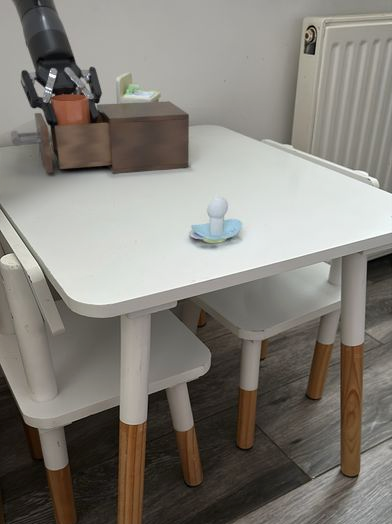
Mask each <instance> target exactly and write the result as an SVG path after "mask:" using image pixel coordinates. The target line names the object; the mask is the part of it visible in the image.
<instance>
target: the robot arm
mask: <svg viewBox="0 0 392 524" xmlns="http://www.w3.org/2000/svg"><path fill="white" fill-rule="evenodd" d="M11 2H12V3H13V5H14V7H15V9H16V13H17V15H18V18H19V22H20V24H21V27H22V33H23V37H24V42H25V43H24V44H25V46H26V48H27V49H28V53H29V56H30V59H31V62H32V65H33V68H34V72H29V71H28V70H26V69H23V70H22V71H21V74H20V84H21V87H22V89H23V91H24V95H25V97H26V100H27V101H28V103H29V106H30V108H31V109H34V110H35V109H37V108H38V109H40V110H42V113H43V115H44V118H45V122H46V125H47V126H50V125H51V126H52V128H55V125H57V118H56V115H55V112H54V109H53V106H52V104H51V97H53V95H54V96H56V95H63V94H79V95H85V96H88V99H89V110H90V122H91V124H92V123H96V121H97V119H98V111H97V105H99V103H100V102H101V98H102V95H103V92H102V88H101V83H100V81H99V76H98V73H97V72H98V71H97V69H96V68H95V66H90V67H89V69H81V68H80V67H79V66H78V64H77V62H76V59H75V56H74V52H73V50H72V47H71V43H70V41H69V38H68V37H69V36H68V35H67V31H66V29H65V26H64V24H63V22H62V20H61V18H60V15H59V13H58V10H57V6H56V4H55V1H54V0H11ZM81 79H83V80H84V81H85V83H86V84H87V85H88V86H89V89H88V88H87V86H86V84H85V83H84V82H83V81H82V80H81ZM35 81H36V82H37V84H39V85H41V86H42V87H43V88H44V92H43V95H42V96H39V94H38V93H37V90H36V88H35Z"/></svg>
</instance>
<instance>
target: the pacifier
mask: <svg viewBox="0 0 392 524" xmlns="http://www.w3.org/2000/svg"><path fill="white" fill-rule="evenodd" d="M207 205H208V206H207V208H206V214H207V216H208V217H209V222H208V223H201V224H191V226H190V227H191V230H190V231H189V232H188V236H190V238H193V239H196V240H202V241H203V242H205V243H209V244H219V243H222V242H225V241H227V239H229V238H232V237H235V236H236V235H237V234H239V233H240V232H241V230H242V229H243V228H242V227H243V222H242V221H241V219H237V218H229V219H225V215H226V214H227V213H228V209H229V203H228V200H227V199H226V198H225V197H223V196H217V197H215V198H213V199H212V200H211V201H210V202H209V204H207Z"/></svg>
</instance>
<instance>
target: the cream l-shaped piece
mask: <svg viewBox="0 0 392 524" xmlns="http://www.w3.org/2000/svg"><path fill="white" fill-rule="evenodd" d="M115 89H116V91H115V92H116V104H121V103H143V102H160V101H159V100H160V98H161V95H162V94H161V93H162V92H160V91H157V90H153V89H152V90H151V89H150V90H143V89H141V88H140V85H139V84H133V76H132V73H131V72H124V73H123V74H120V75H119V76H117V77H116V79H115Z"/></svg>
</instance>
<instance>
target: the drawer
mask: <svg viewBox="0 0 392 524" xmlns="http://www.w3.org/2000/svg"><path fill="white" fill-rule="evenodd" d="M44 118H45V117H44V116H43V113H41V112H35V113H34V121H35V126H36V127H35V128H36V131H33V132H32V131H31V132H18V131H16V130H12V131H10V138H11V143H12V144H13V146H15V147H19V146H21V144H30V143H31V144H32V143H38V148H39V156H40V159H41V162H42V164H43V167H44V170H45V173H46V174H49V173H54V166H53V158H52V153H53V156H54V158H55V161H56V163H57V165H58V168H59V170H66V169H80V168H92V167H103V166H104V167H105V166H106V167H107V166H108V165H112V161H111V146H110V131H109V122H108V121H107V119H106V118H105V117H104V116H103V115H102V114H101V113H100V112H98V119H97V121H96V123H92V124H73V125H55V132H54V128H52V126H51V125H49V127H50V128H49V127H48V124H47V122H46V119H44ZM49 129H50V133H49ZM49 134H50V135H49ZM55 134H56V140H55ZM50 136H51V143H50ZM27 137H29V138H27ZM31 137H32V138H31ZM56 142H57V148H56ZM51 145H52V149H51ZM51 150H52V151H53V152H52V151H51Z"/></svg>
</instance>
